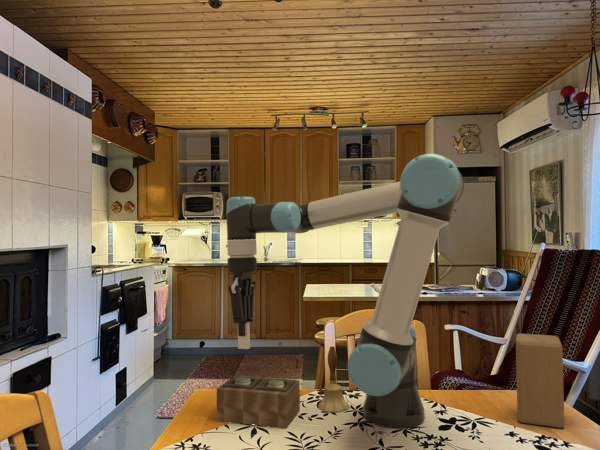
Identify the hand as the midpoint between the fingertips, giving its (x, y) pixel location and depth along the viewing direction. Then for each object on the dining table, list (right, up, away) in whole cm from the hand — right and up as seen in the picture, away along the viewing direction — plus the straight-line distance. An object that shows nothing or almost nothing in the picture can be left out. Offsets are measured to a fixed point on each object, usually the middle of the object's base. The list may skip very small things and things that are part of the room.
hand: (244, 348), depth 121 cm
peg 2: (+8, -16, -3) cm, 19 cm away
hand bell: (+23, -17, +5) cm, 29 cm away
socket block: (+4, -17, -1) cm, 18 cm away
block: (+74, -16, -5) cm, 76 cm away
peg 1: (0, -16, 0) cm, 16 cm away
